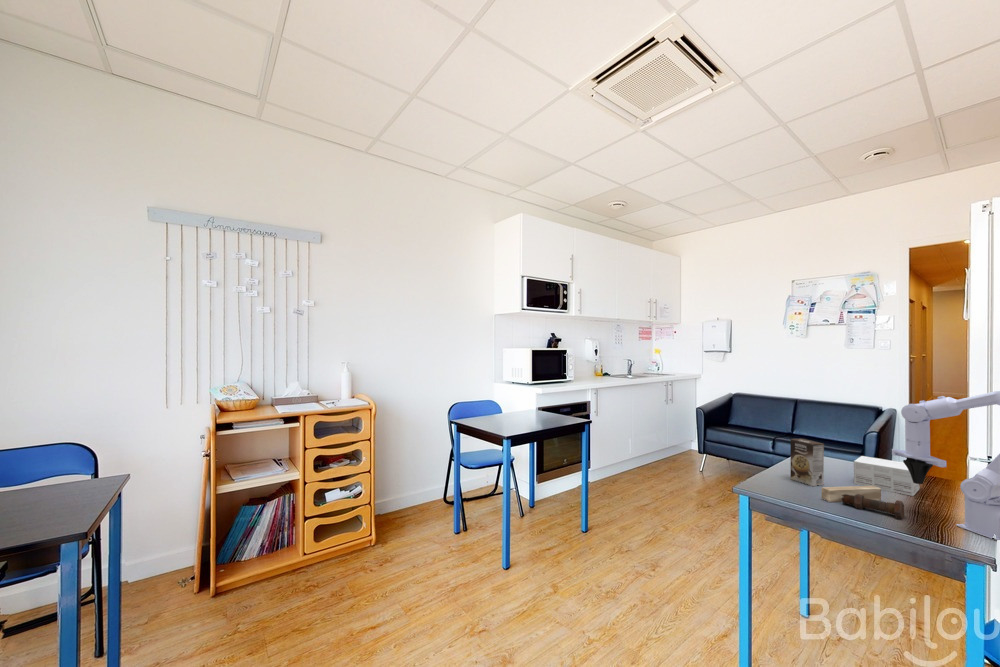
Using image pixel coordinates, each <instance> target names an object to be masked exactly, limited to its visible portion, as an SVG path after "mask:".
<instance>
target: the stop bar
mask: <svg viewBox="0 0 1000 667" xmlns="http://www.w3.org/2000/svg"><path fill="white" fill-rule="evenodd" d="M844 494H846V495H847V494H848V495H853V496H855V495H856V494H861V495H863V496H864V498H867V499H872V500H878V501H882V490H881V488H878V487H875V486H861V485H854V486H851V485H850V486H829V487H827V486H825V487H822V486H821V499H822V500H823V499H825V500H827V501H826V502H828V501H829V502H828V503H841V502H842V497H843V496H842V495H844ZM825 500H824V501H825ZM842 503H843V502H842Z"/></svg>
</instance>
